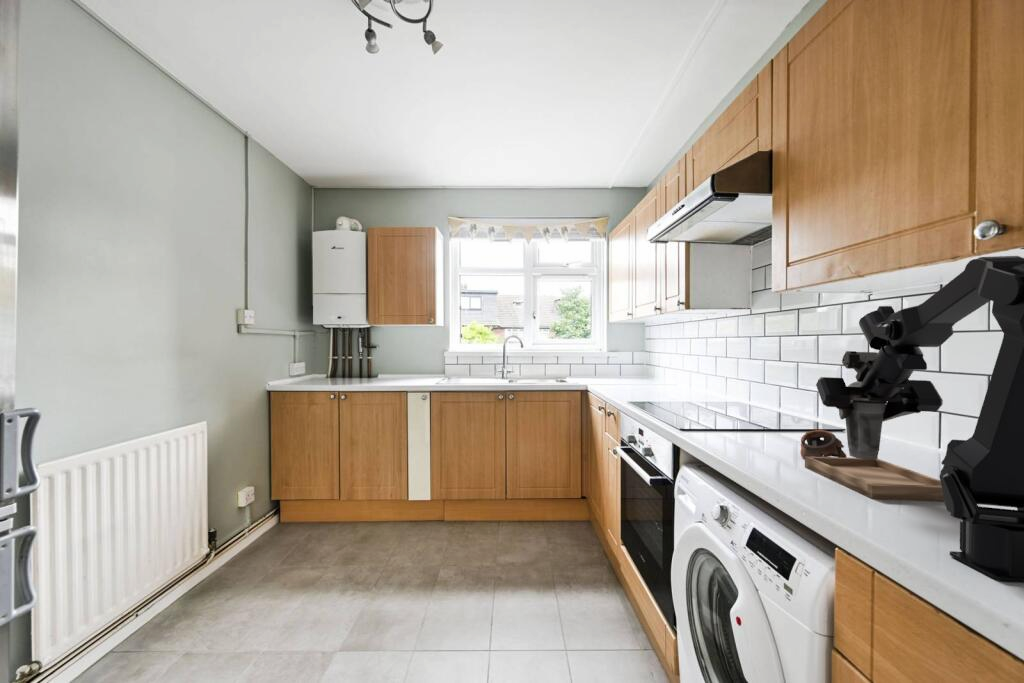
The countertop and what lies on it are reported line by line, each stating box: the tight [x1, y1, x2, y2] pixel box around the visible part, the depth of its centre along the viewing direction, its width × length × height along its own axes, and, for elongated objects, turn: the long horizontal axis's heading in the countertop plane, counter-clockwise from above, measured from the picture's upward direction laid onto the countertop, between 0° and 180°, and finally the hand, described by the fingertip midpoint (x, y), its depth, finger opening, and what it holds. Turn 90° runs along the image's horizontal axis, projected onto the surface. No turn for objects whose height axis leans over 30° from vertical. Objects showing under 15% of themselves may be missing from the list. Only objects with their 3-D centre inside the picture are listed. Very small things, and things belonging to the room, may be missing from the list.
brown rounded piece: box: [800, 429, 847, 460], centre depth 109 cm, size 12×10×8 cm
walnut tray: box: [804, 456, 945, 502], centre depth 90 cm, size 20×16×2 cm
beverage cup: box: [844, 380, 888, 460], centre depth 89 cm, size 7×7×20 cm
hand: (860, 418), depth 90 cm, fingers closed on beverage cup, 7 cm apart
